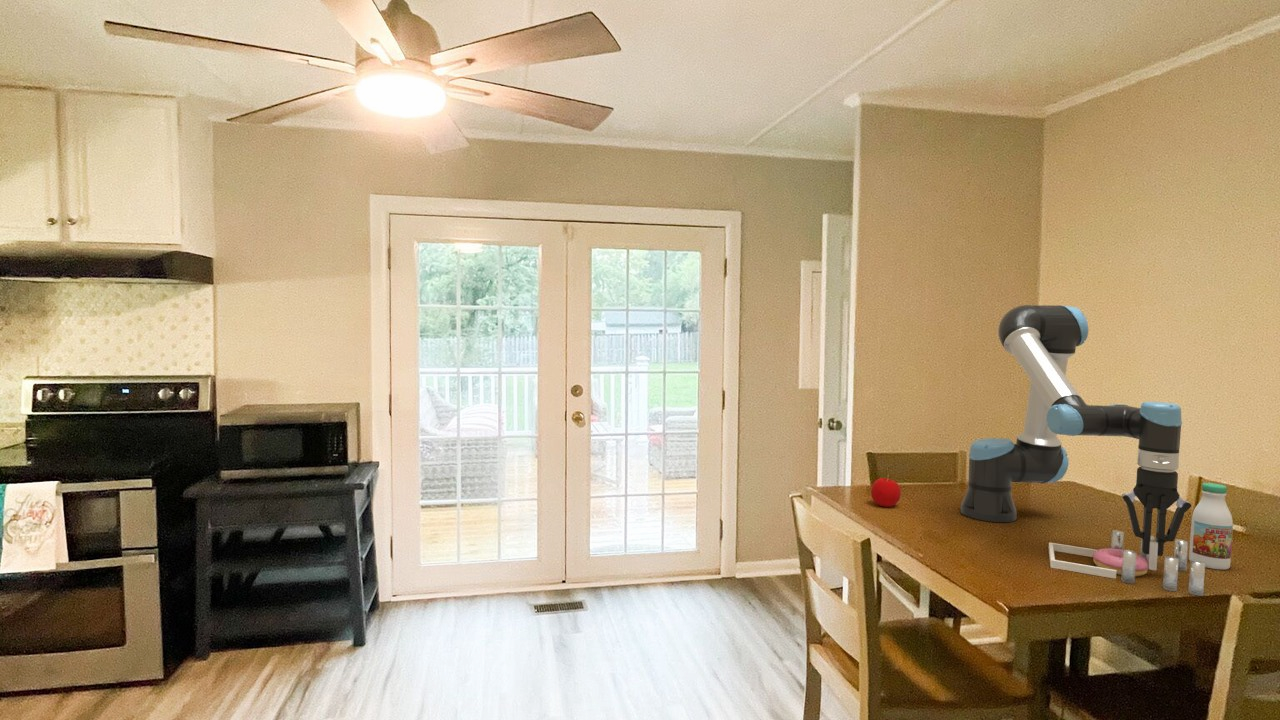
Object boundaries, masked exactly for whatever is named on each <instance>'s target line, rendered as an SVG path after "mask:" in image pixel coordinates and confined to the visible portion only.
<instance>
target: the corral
mask: <svg viewBox="0 0 1280 720" xmlns="http://www.w3.org/2000/svg"><path fill="white" fill-rule="evenodd" d="M1097 550H1098V549H1094V548H1088V547H1082V546H1081V547H1080V546H1074V545H1069V544H1062V543H1055V542H1048V556H1049V564H1050V568H1052V569H1058V570H1064V571H1070V572H1075V573H1080V574H1081V573H1082V574H1086V575H1091V576H1092V575H1093V576H1099V577H1104V578H1108V579H1117V574H1116V573H1117V571H1116V570H1113V569H1107V568H1101V567H1098V566H1094V565H1090V564H1089V565H1087V564H1081V563H1075V562H1070V561H1064V560H1060V559H1059V560H1058V559H1056V557H1055V552H1058V553H1064V554H1071V555H1078V556H1084V557H1090V558H1093V557H1092V556H1093V554H1094V552H1096V551H1097Z"/></svg>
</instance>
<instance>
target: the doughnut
mask: <svg viewBox="0 0 1280 720" xmlns="http://www.w3.org/2000/svg"><path fill="white" fill-rule="evenodd" d="M1096 550H1097V551H1096V552H1094V554H1093V556H1092V557H1091V558H1093V559H1092V560H1093V562H1094V564H1095V565H1096V567H1101V568H1107V569H1113V570H1116V571H1117V573H1116V575H1119V576H1122V561H1123V550H1124V549H1123V550H1119V549H1115V548H1114V549H1111V547H1109V548H1099V549H1096ZM1140 555H1141V554H1138V553H1136V566H1135V577H1140V576H1144V575H1146V574H1147V573H1148V570H1149V569H1148V568H1149V564H1148V562H1147V561H1146V559H1144V558H1143V557H1142V556H1140Z"/></svg>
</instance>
